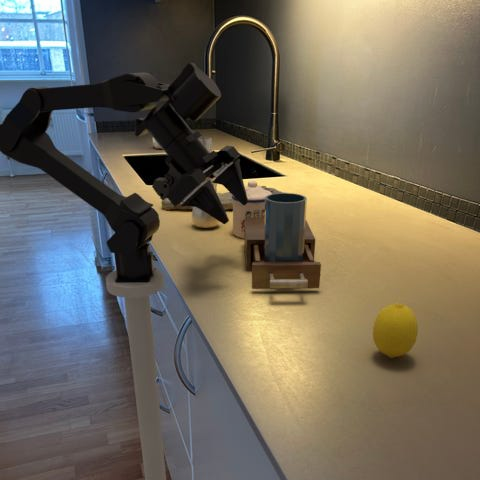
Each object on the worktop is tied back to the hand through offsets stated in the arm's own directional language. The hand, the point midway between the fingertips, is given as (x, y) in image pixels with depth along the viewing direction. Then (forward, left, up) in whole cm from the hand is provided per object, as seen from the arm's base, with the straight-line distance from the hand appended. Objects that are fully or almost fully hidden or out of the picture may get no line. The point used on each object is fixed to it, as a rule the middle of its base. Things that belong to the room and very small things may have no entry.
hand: (236, 212), depth 89 cm
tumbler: (+8, -3, -10) cm, 13 cm away
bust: (-32, +149, -12) cm, 153 cm away
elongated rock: (-2, +49, -12) cm, 50 cm away
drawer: (+8, -4, -11) cm, 14 cm away
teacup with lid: (+5, +25, -12) cm, 29 cm away
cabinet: (+8, +9, -12) cm, 17 cm away
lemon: (+20, -30, -12) cm, 38 cm away
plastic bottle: (-7, +30, -12) cm, 33 cm away
